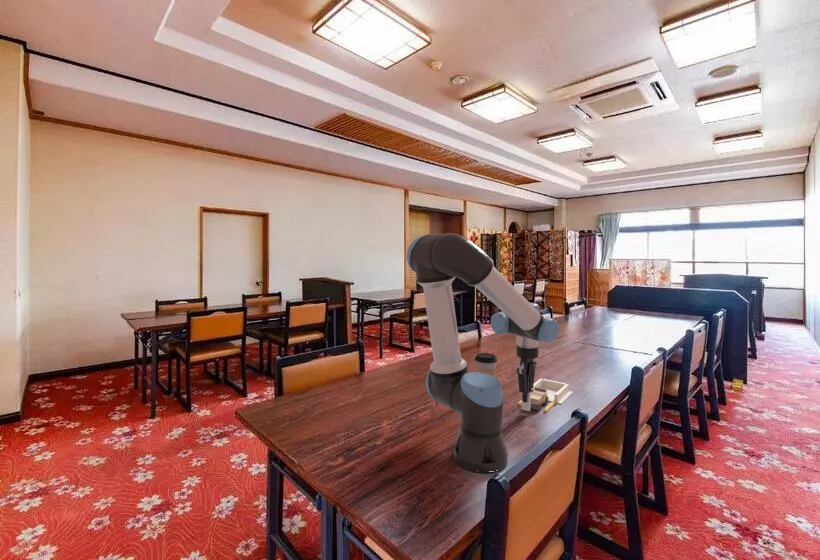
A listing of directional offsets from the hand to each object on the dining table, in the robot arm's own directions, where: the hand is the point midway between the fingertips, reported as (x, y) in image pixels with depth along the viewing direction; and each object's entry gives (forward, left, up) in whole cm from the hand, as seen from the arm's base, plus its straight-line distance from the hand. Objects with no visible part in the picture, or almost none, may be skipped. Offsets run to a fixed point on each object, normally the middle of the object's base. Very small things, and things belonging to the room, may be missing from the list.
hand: (525, 409), depth 137 cm
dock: (+20, 0, -2) cm, 20 cm away
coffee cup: (+13, +23, -2) cm, 27 cm away
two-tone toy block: (+10, 0, -2) cm, 10 cm away
